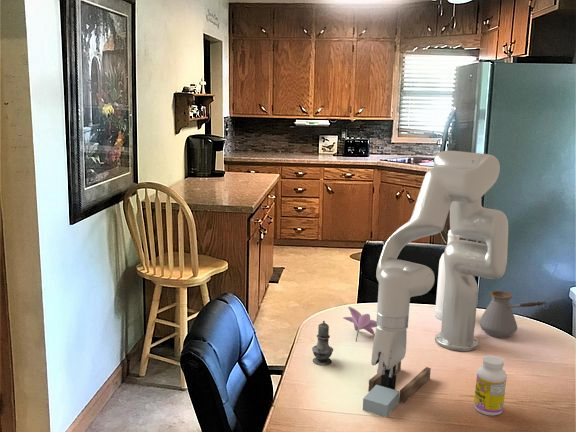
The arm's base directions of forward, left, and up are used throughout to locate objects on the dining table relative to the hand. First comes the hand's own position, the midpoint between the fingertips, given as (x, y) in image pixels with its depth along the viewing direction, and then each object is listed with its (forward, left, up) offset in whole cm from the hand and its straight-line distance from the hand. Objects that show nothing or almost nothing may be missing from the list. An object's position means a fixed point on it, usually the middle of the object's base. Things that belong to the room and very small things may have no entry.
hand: (387, 389), depth 149 cm
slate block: (+6, +1, -2) cm, 6 cm away
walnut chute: (-7, 0, -2) cm, 7 cm away
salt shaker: (-6, -23, -2) cm, 24 cm away
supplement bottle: (-9, +22, -2) cm, 24 cm away
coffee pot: (-56, +14, -2) cm, 58 cm away
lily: (-28, -23, -2) cm, 36 cm away
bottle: (-60, -8, -2) cm, 61 cm away
